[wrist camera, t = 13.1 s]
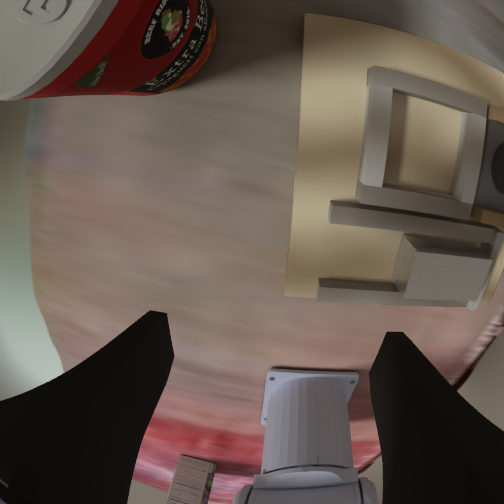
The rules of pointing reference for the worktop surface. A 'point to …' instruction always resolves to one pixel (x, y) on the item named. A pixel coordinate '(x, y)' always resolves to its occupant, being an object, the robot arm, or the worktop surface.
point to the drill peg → (498, 168)
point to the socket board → (390, 160)
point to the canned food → (101, 46)
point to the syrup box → (191, 481)
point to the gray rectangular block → (440, 269)
